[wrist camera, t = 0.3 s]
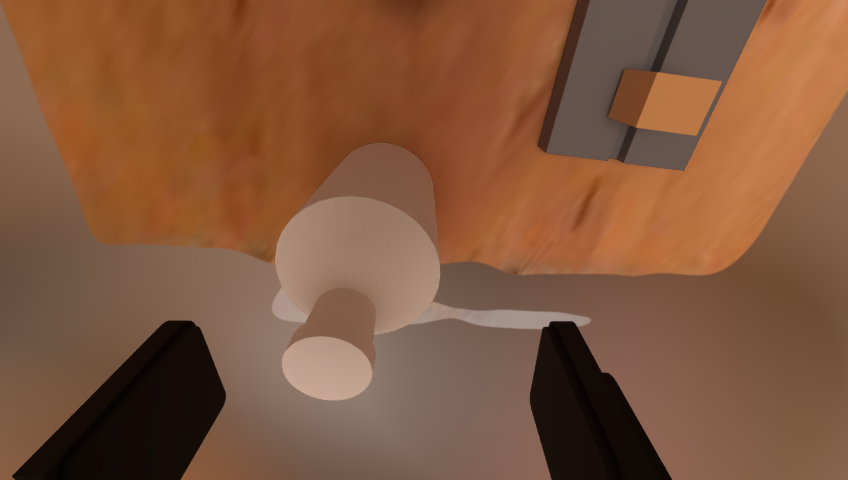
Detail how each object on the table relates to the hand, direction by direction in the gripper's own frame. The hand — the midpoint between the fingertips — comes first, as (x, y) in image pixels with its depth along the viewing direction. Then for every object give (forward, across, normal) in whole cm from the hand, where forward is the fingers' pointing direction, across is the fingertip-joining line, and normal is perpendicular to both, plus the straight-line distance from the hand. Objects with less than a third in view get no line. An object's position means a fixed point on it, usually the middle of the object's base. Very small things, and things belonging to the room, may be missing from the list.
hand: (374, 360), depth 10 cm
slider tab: (+29, -21, -4) cm, 35 cm away
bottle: (+31, +4, +6) cm, 32 cm away
